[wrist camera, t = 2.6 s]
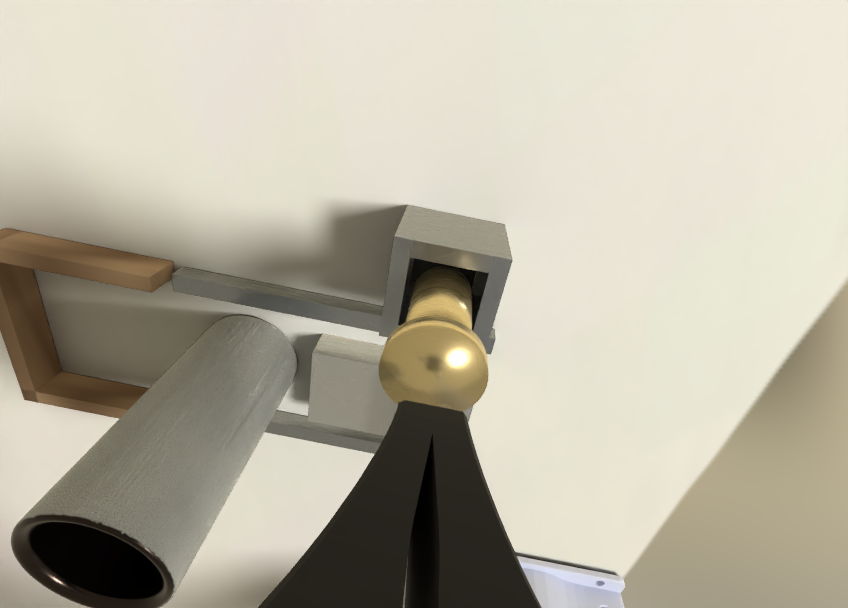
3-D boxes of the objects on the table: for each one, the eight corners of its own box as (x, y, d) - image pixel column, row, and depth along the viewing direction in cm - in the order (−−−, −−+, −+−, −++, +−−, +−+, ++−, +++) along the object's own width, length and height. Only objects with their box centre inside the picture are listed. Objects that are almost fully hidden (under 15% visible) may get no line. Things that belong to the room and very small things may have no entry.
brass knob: (492, 264, 15) (500, 341, 11) (473, 334, 16) (473, 425, 12) (409, 248, 15) (386, 318, 11) (396, 319, 16) (372, 405, 12)
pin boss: (504, 224, 17) (512, 260, 14) (476, 325, 19) (477, 374, 16) (407, 205, 17) (394, 236, 14) (390, 308, 19) (376, 354, 16)
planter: (217, 389, 22) (48, 607, 13) (194, 311, 20) (-24, 509, 11) (304, 394, 22) (190, 622, 13) (291, 315, 20) (144, 524, 11)
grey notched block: (472, 362, 20) (472, 406, 18) (454, 425, 22) (452, 473, 20) (323, 332, 20) (301, 372, 18) (317, 398, 22) (297, 443, 20)
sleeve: (494, 329, 19) (495, 339, 19) (455, 457, 23) (455, 469, 23) (182, 266, 19) (171, 274, 19) (196, 406, 23) (187, 416, 22)
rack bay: (172, 261, 19) (149, 277, 18) (188, 406, 23) (170, 428, 22) (6, 228, 19) (-31, 241, 18) (51, 379, 23) (24, 399, 22)
